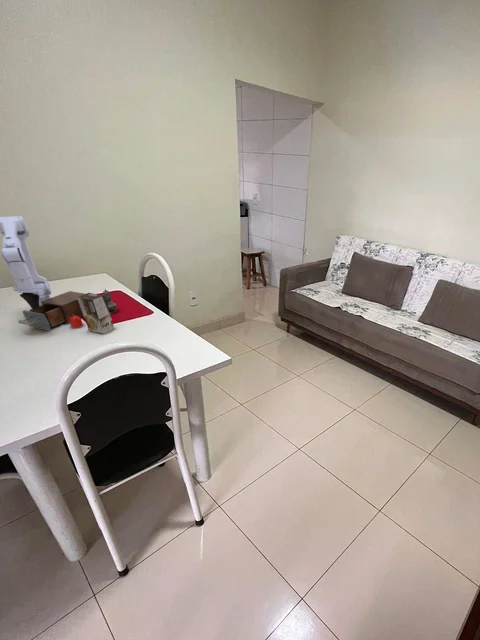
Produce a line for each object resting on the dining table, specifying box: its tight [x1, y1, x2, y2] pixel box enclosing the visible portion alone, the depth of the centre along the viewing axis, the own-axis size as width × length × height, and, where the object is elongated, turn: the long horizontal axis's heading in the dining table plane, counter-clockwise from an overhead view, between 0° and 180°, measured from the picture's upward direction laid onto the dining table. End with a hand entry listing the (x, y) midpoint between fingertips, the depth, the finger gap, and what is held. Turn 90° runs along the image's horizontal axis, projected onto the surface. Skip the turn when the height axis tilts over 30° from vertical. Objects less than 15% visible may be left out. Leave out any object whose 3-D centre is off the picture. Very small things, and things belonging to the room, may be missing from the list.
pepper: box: [69, 314, 84, 329], centre depth 149 cm, size 5×5×6 cm
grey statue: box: [102, 288, 119, 315], centre depth 163 cm, size 6×6×12 cm
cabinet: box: [41, 290, 85, 325], centre depth 158 cm, size 16×13×9 cm
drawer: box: [17, 304, 67, 331], centre depth 148 cm, size 19×11×7 cm, turn 163°
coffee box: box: [77, 292, 115, 335], centre depth 145 cm, size 9×6×16 cm
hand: (36, 308), depth 141 cm, fingers closed
